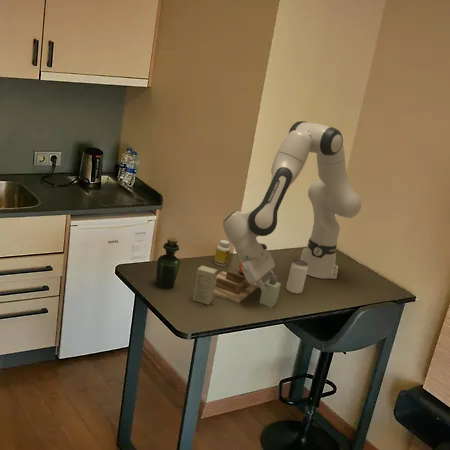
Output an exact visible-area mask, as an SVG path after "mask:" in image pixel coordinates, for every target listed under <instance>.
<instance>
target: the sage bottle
mask: <svg viewBox="0 0 450 450" xmlns="http://www.w3.org/2000/svg"><path fill="white" fill-rule="evenodd" d="M277 280H278V275H276V274H272V275H271V277H270V279H269V278H268V279H267V280H266V281H264V282H263V284H264V285H266V287H267V289H266V290H265V291H262V290H261V294H260V298H259V304H261V305H265V306H267V307H269V308H273V307H274V306H275V305H276V304H277V302H278V298H279V294H280V290H281V284H282V283H281V282H278V281H277Z"/></svg>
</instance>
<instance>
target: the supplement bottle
mask: <svg viewBox="0 0 450 450" xmlns="http://www.w3.org/2000/svg"><path fill="white" fill-rule="evenodd" d="M230 243H231V242H230V241H228V240H224V239H221V240H220V241H219V244H218V245H217V246H216V250H215V256H214V259H213V260H214V261H213V262H214V264H215V265H217V266H221V267H224V266H225V267H226V266H227V265H228V261H229V255H230V251H231V249H230Z"/></svg>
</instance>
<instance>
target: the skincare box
mask: <svg viewBox="0 0 450 450" xmlns="http://www.w3.org/2000/svg"><path fill="white" fill-rule="evenodd" d="M217 275H218V269H216V268H212V267H209V266H206V265H200V266H199V267H198V268H197V271H196V277H195V284H194V291H193V294H192V296H193V297H192V301H195V302H197V303H201V304H204V305H207V306H208V305H210V304H211V303H212V302H213V299H214V295H215V294H214V288H215V283H216V277H217Z"/></svg>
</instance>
